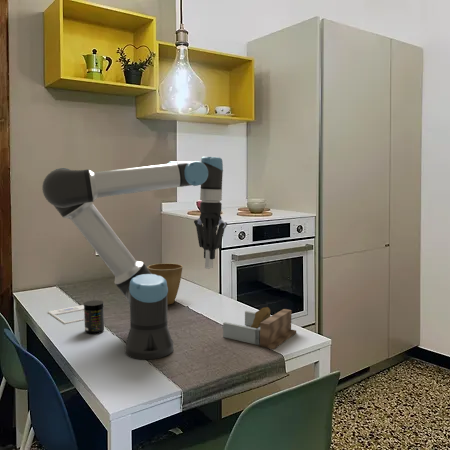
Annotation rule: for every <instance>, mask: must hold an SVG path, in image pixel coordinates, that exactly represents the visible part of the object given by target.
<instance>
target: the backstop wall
mask: <svg viewBox="0 0 450 450" xmlns="http://www.w3.org/2000/svg"><path fill="white" fill-rule="evenodd" d="M292 313H293V310H291V309H287V308H283V309H281V310H280V311H277V312H276V313H274V314H272V315H271V317H269V318H267V319H266V320H264V321H262V322H261V323H260V345H259V347H260V348H265V349H269V350H270V349H271V350H275V349H276V348H278V347H280V346H281V345H282V344H283V343H285V342H286V341H288V340H289V339H291V338H292V337H294V335H296V334H297V330H295V329H292Z"/></svg>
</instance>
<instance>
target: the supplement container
mask: <svg viewBox="0 0 450 450" xmlns="http://www.w3.org/2000/svg"><path fill="white" fill-rule="evenodd" d="M83 305H84V310H83V312H84V315H83V316H84V317H83V319H84V320H83V321H84V332H85V333H86V334H87V335H99V334H101V333H103V332H104V331H105V316H104V315H105V311H104V310H105V308H104V307H105V304H104V301H102V300H97V299H95V300H88V301H85V302H84V303H83Z"/></svg>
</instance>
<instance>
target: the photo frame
mask: <svg viewBox="0 0 450 450" xmlns="http://www.w3.org/2000/svg"><path fill="white" fill-rule="evenodd" d="M81 311H84V304H81V305H76V306H70V307H65V308H60V309H55V310H48V311H47V314H48V315H50V316H51V317H54V318H55V319H56V320H58V321H59V322H61V323H62V324H63V325H67V324H73V323H77V322H82V321H84V318H80V319H74V320H70V321H65V320H64V319H62V318H60V317H59V316H60V315H65V314H70V313H76V312H81Z"/></svg>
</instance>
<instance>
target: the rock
mask: <svg viewBox="0 0 450 450" xmlns="http://www.w3.org/2000/svg"><path fill="white" fill-rule="evenodd" d="M270 315H271V309H270V307H268V306H265V307H261V308H260V309H259V310H257V311H256V312H255V318H254V321H253V324H252V325H251V326H250V327H252V328H256V329H257V328H259V327H260V323H261V322H262V321H264V320H266V319H267V318H269V317H270Z"/></svg>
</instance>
